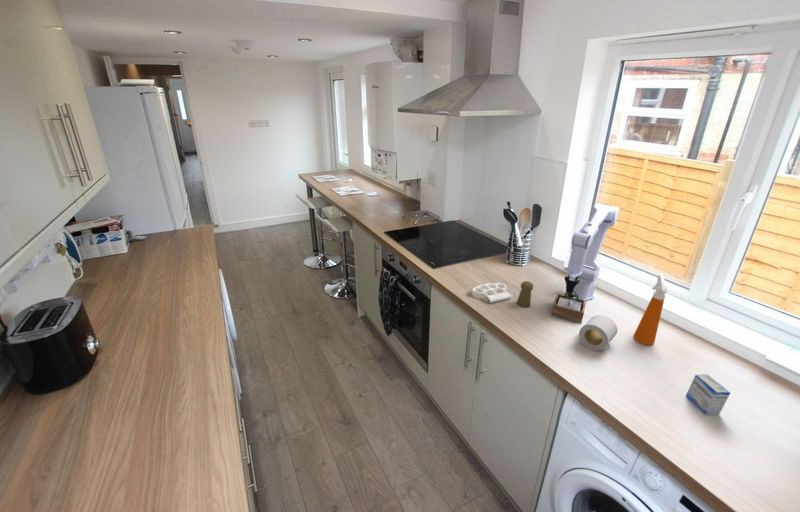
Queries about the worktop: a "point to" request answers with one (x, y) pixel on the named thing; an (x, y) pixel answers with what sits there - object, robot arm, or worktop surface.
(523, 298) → the brown tapered figure
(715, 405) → the medicine box
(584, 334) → the toilet paper
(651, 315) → the spray bottle
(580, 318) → the frame
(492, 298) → the knuckle duster
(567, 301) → the plunger
